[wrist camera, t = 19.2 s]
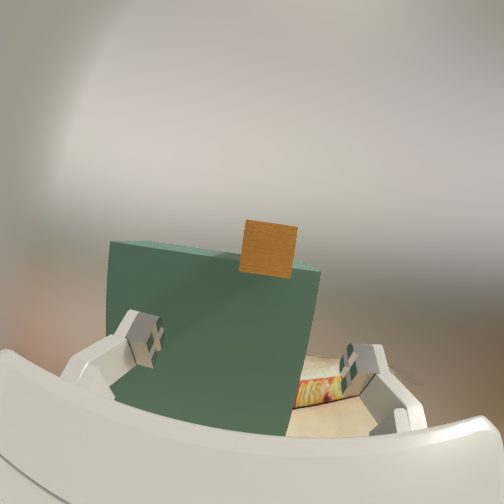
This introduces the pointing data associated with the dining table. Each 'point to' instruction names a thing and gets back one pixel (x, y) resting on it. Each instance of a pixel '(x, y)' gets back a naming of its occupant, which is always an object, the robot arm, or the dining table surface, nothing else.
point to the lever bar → (268, 249)
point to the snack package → (319, 386)
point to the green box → (213, 335)
